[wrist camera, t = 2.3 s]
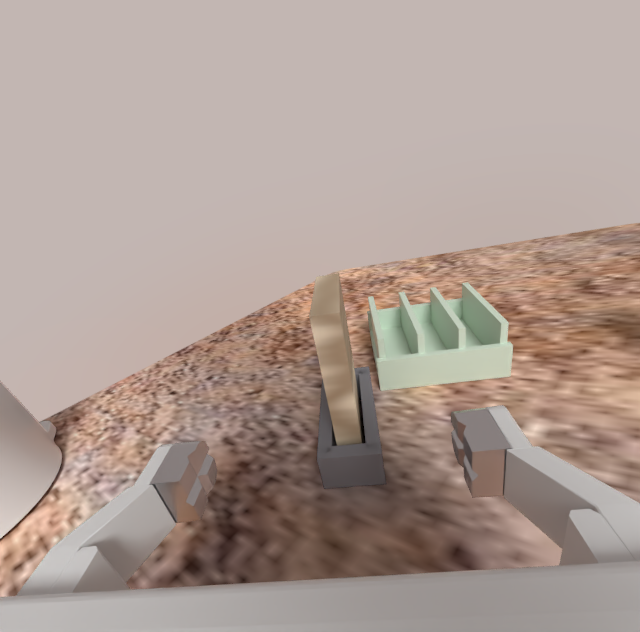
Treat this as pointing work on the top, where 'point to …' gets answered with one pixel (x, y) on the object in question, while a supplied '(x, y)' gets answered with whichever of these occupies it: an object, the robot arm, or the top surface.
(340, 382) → the maple board
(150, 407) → the top surface
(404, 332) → the dish rack
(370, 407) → the board stand
